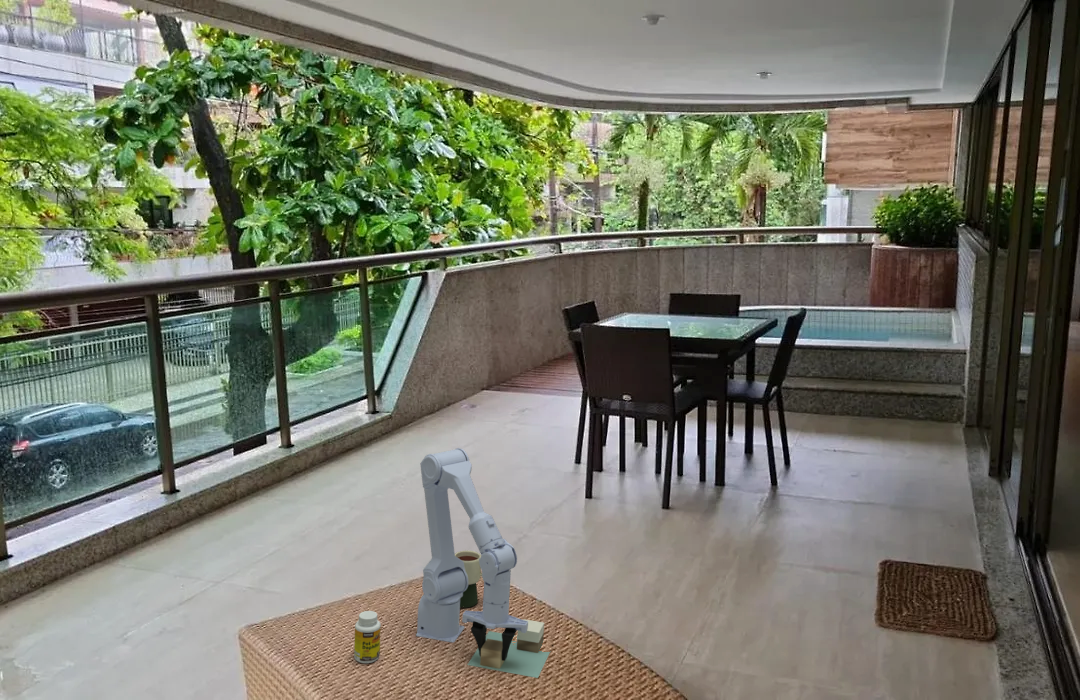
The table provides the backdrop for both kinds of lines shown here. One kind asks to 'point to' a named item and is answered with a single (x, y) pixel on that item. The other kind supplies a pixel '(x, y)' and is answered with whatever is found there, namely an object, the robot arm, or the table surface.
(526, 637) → the cream block
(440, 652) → the table surface
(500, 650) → the oak block
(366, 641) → the supplement bottle
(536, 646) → the walnut block
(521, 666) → the teal board
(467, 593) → the character mug
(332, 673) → the table surface
